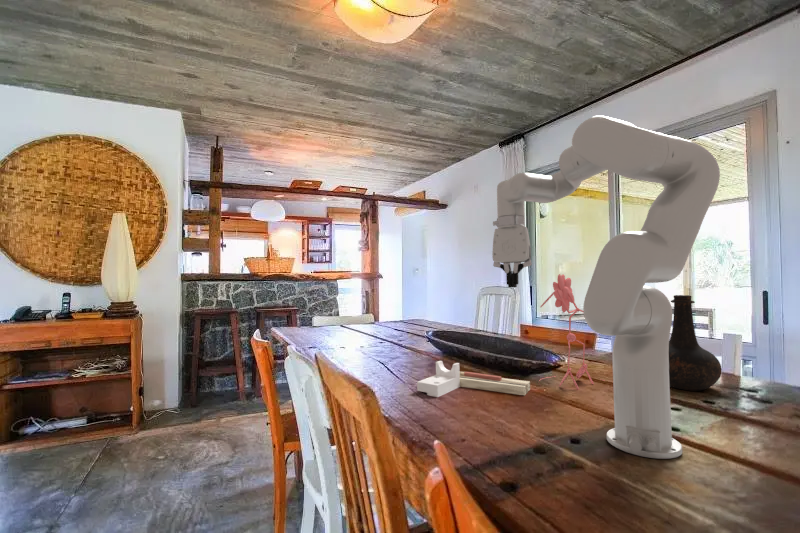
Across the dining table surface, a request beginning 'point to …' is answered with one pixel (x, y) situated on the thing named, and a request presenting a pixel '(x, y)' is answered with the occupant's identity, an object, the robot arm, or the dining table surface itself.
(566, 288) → the figurine
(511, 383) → the board
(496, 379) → the pencil
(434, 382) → the bracket
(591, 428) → the dining table surface
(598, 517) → the dining table surface
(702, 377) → the glass bottle
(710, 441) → the dining table surface
